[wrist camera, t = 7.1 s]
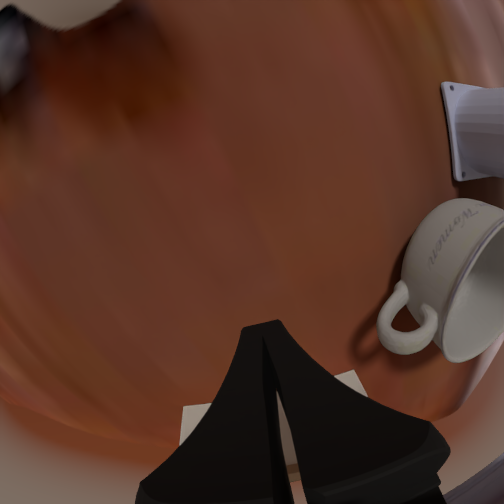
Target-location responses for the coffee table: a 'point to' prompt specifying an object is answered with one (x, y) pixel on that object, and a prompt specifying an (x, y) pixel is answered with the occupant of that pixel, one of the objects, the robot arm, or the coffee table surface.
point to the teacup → (451, 282)
